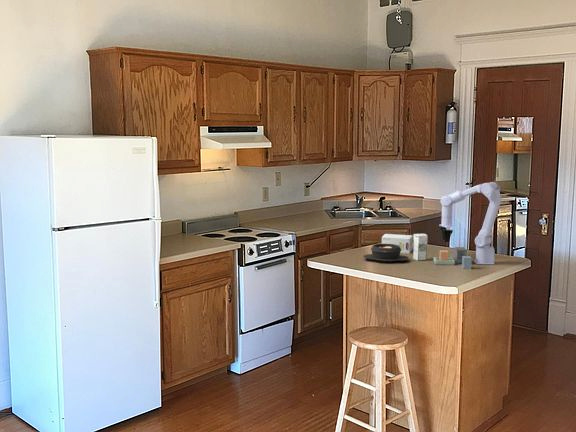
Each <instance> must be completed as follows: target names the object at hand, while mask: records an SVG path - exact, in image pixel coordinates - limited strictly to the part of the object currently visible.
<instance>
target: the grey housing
mask: <svg viewBox="0 0 576 432" xmlns="http://www.w3.org/2000/svg"><path fill="white" fill-rule="evenodd" d="M467 251H468V250H467V249H466V247H464V246H454V251H453V260H454V261H455V265H457V266H458V265H460V266H462V256H467V253H468V252H467ZM455 265H454V266H455Z"/></svg>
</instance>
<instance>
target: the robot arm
mask: <svg viewBox="0 0 576 432" xmlns="http://www.w3.org/2000/svg"><path fill="white" fill-rule="evenodd" d="M500 190H501V188H500V186H499V185H498V183H496V182H495V181H490V182H484V183H480V184H477V185H475V186H473V187H470V188H468V189H465V190H459V189H456V190H455V192H452V193H448V195H443V196H442V197H441V198H440V201H439V202H440V205H441V224H439V228H440V232H441V236H442V239H443V240H444V242H445V243H450V240H451V236H452V234H453V231H454V230H453V229H451V228H452V227H453V205H454V204H457V203H460V202H462V201H464V200H465V199H466V198H467V197H468V196H470V195H473V194H474V195H475V194H476V193H478V194H479V193H480V194H483V195H484V196H485V197H486V198H487V199H488V201H489V204H488V207H487V211H486V214H485V217H484V220H483V223H482V227H481V229H480V230H479V232H478V235H476V237H475V238H474V244H475V260H473V262H474V263H475V264H476V265H495V247H494V246H493V247H492V246H491V244H492V242H493V228H494V224H495V221H496V218H497V215H498V211H499V209H500V206H501V202H502V198H501V193H500Z"/></svg>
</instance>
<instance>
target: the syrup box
mask: <svg viewBox="0 0 576 432" xmlns="http://www.w3.org/2000/svg"><path fill="white" fill-rule="evenodd" d="M427 256H428V234H426V233H413V245H412V259H413V260H415V261H417V262H418V261H427V258H428V257H427Z"/></svg>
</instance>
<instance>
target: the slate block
mask: <svg viewBox="0 0 576 432" xmlns="http://www.w3.org/2000/svg"><path fill="white" fill-rule="evenodd" d="M472 260H473V259H472V257H471V256H462V265H461V267H462V269H463V270H472Z"/></svg>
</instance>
